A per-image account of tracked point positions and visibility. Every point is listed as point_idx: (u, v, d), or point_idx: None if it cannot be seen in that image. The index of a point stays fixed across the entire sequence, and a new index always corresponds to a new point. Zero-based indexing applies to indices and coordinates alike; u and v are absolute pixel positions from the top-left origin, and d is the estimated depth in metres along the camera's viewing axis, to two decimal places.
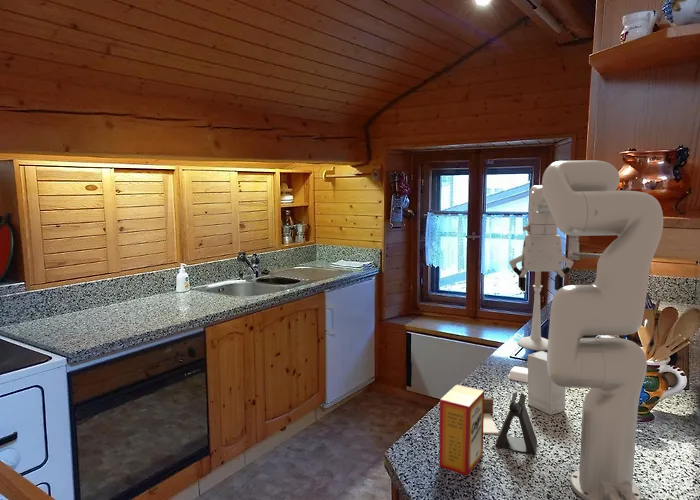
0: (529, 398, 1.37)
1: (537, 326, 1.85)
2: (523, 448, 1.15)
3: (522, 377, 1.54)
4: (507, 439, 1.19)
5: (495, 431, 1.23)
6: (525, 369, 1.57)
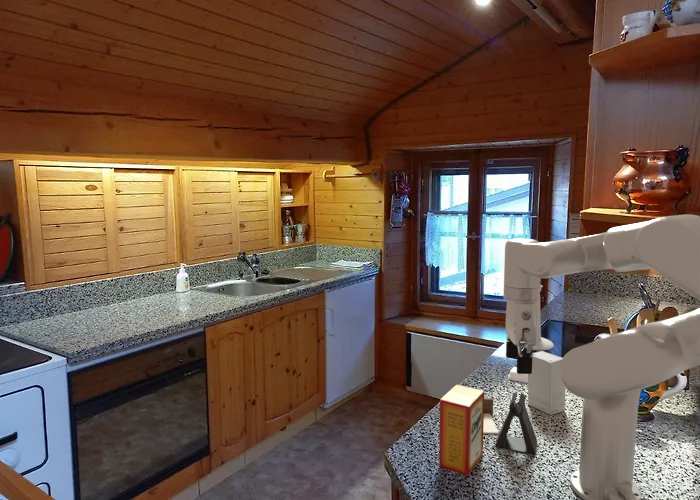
0: (529, 398, 1.37)
1: (537, 326, 1.85)
2: (523, 448, 1.15)
3: (522, 378, 1.54)
4: (507, 439, 1.19)
5: (495, 431, 1.23)
6: None
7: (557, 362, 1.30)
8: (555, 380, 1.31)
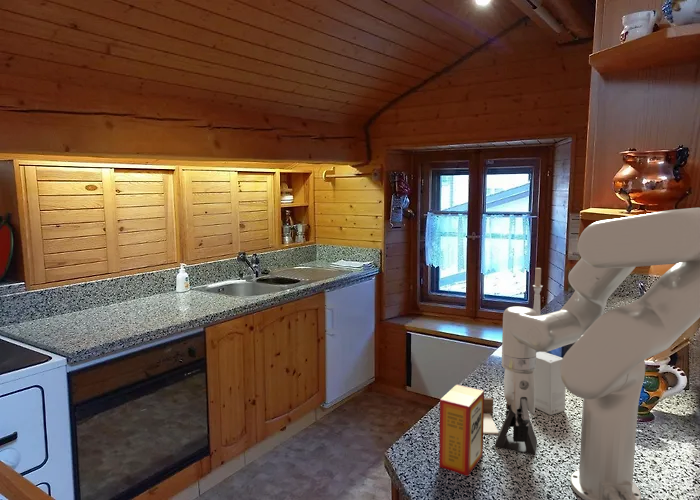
0: None
1: None
2: (523, 448, 1.15)
3: None
4: (507, 439, 1.19)
5: (495, 431, 1.23)
6: None
7: (557, 362, 1.30)
8: (555, 380, 1.31)
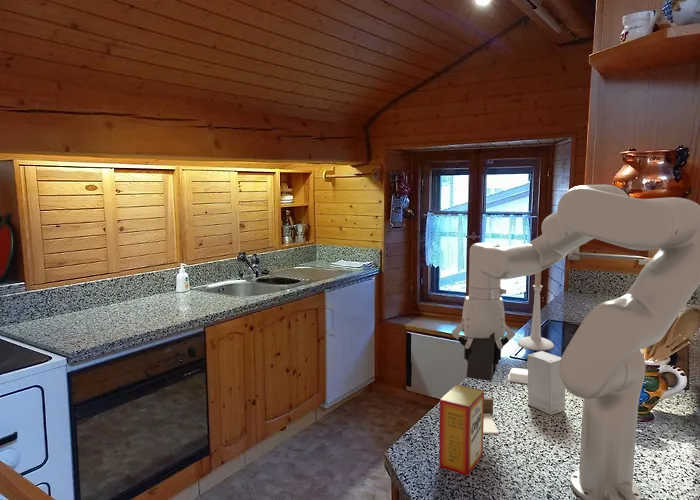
0: (529, 398, 1.37)
1: (537, 326, 1.85)
2: None
3: (523, 379, 1.53)
4: None
5: (495, 431, 1.23)
6: (524, 370, 1.56)
7: (557, 362, 1.30)
8: (555, 380, 1.31)
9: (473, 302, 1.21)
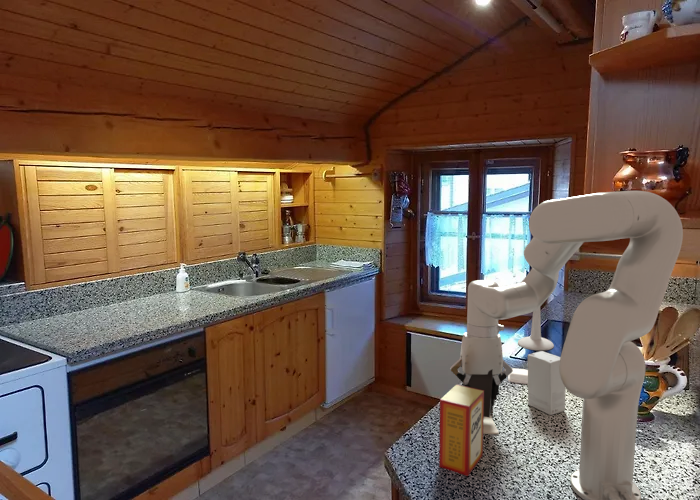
0: (529, 398, 1.37)
1: (537, 326, 1.85)
2: None
3: (523, 379, 1.53)
4: None
5: (495, 431, 1.23)
6: (524, 370, 1.56)
7: (557, 362, 1.30)
8: (555, 380, 1.31)
9: (471, 340, 1.22)
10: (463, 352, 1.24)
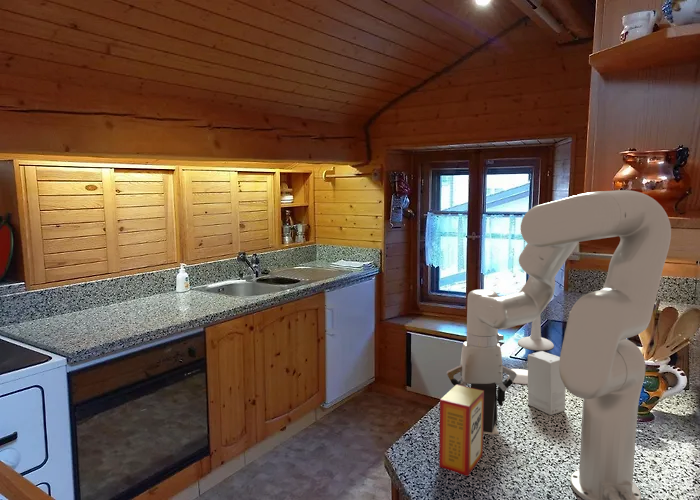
0: (529, 398, 1.37)
1: (537, 326, 1.85)
2: None
3: (524, 379, 1.52)
4: None
5: (495, 431, 1.23)
6: (524, 371, 1.55)
7: (557, 362, 1.30)
8: (555, 380, 1.31)
9: (471, 349, 1.23)
10: (463, 361, 1.24)
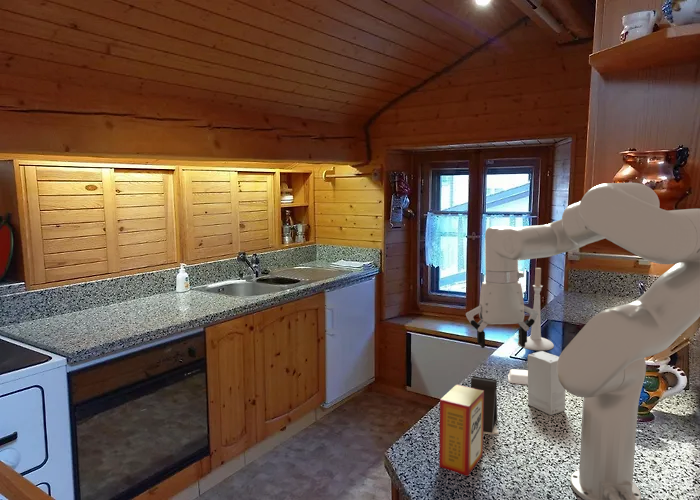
0: (529, 398, 1.37)
1: (537, 326, 1.85)
2: None
3: (524, 380, 1.52)
4: None
5: (495, 431, 1.23)
6: (524, 371, 1.55)
7: None
8: (555, 380, 1.31)
9: (491, 287, 1.18)
10: (483, 301, 1.19)
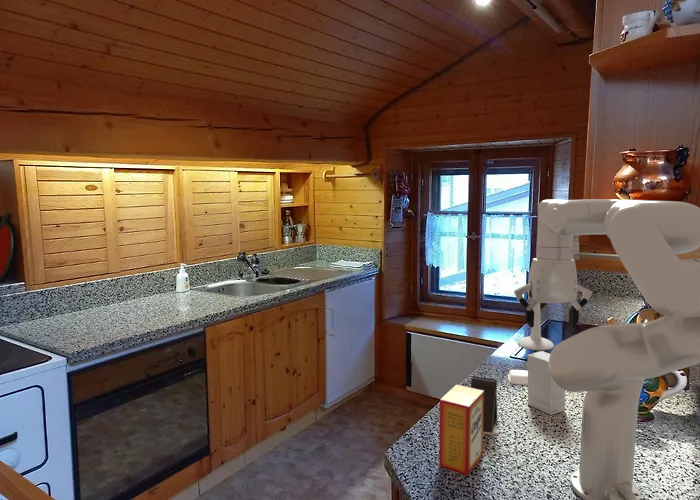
0: (529, 398, 1.37)
1: (537, 326, 1.85)
2: None
3: (525, 380, 1.52)
4: None
5: (495, 431, 1.23)
6: (523, 371, 1.55)
7: None
8: None
9: (543, 263, 1.12)
10: (534, 278, 1.13)
